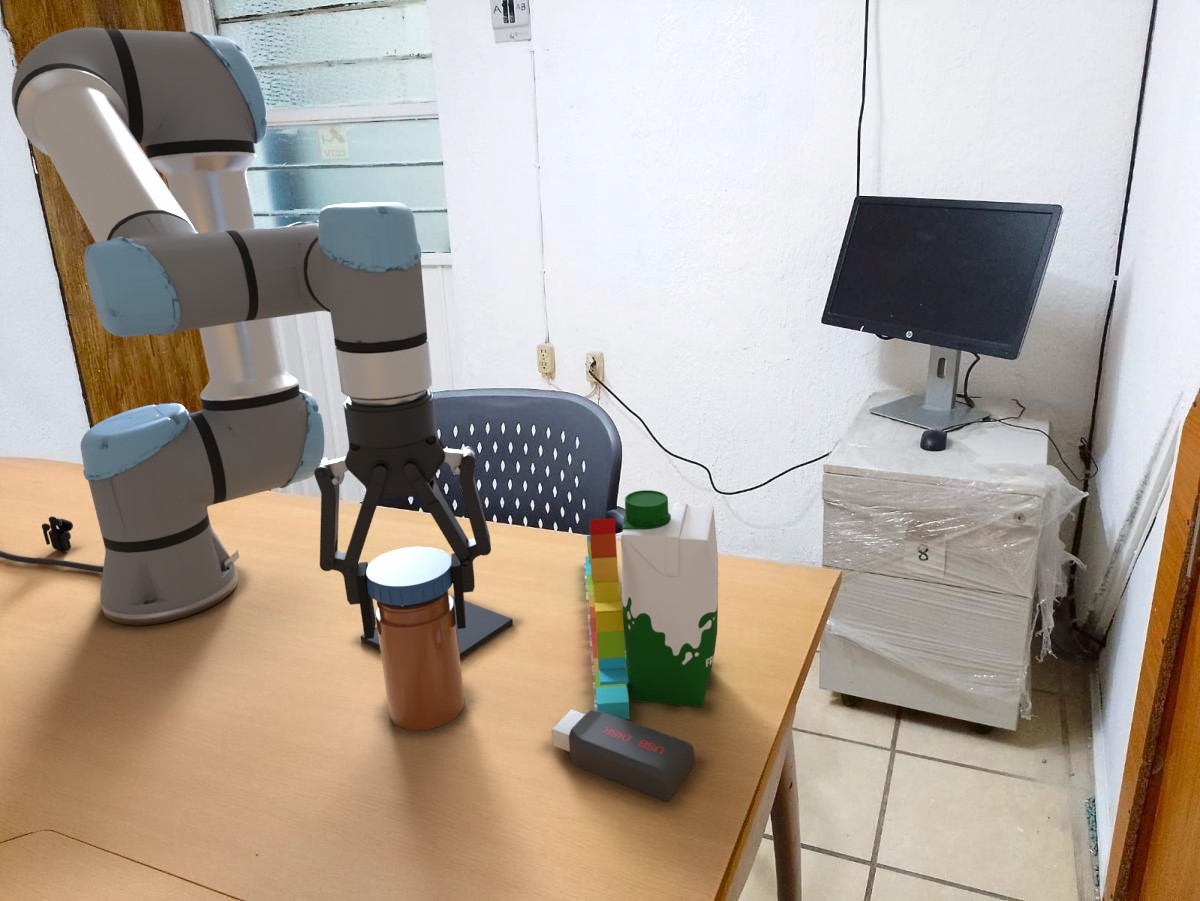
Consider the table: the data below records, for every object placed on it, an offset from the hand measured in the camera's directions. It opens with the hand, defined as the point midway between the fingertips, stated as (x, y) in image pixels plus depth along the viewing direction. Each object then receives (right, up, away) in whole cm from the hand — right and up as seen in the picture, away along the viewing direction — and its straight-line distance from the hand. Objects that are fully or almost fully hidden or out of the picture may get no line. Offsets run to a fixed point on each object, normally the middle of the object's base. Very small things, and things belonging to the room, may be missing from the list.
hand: (416, 625), depth 78 cm
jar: (0, -8, +3) cm, 9 cm away
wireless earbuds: (-59, +2, +40) cm, 71 cm away
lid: (0, +6, -2) cm, 6 cm away
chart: (+18, -4, +14) cm, 23 cm away
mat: (-1, -4, +15) cm, 16 cm away
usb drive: (+19, -11, -5) cm, 23 cm away
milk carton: (+24, -7, +5) cm, 26 cm away
